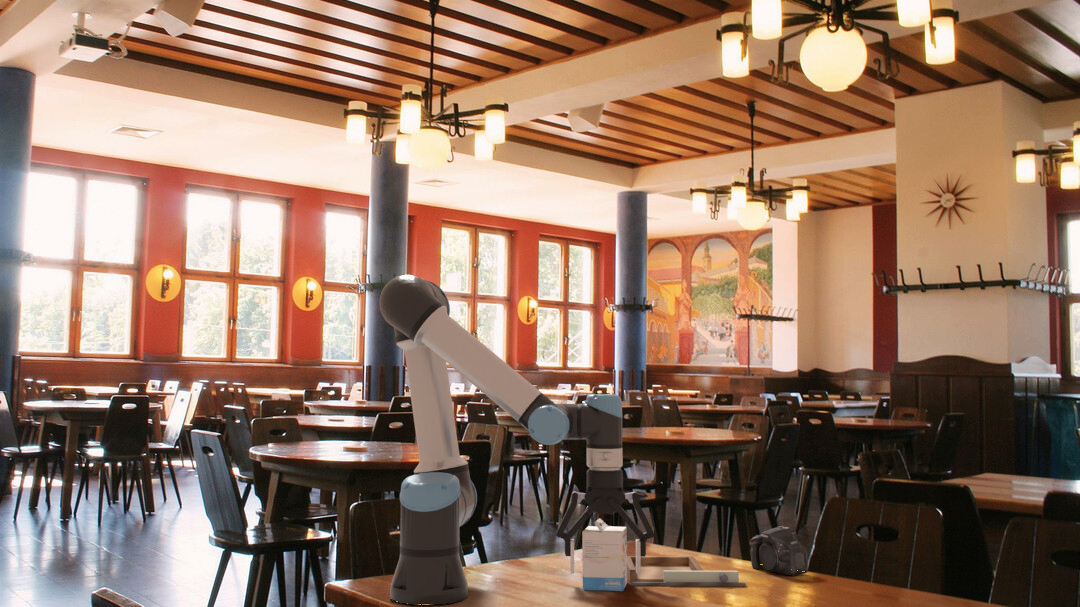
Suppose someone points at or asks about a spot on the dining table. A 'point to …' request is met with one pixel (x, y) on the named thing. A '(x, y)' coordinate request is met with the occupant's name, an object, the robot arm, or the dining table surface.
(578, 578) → the dining table surface
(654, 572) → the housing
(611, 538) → the ink box
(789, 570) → the camera
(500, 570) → the dining table surface
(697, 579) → the cream rectangular bar
